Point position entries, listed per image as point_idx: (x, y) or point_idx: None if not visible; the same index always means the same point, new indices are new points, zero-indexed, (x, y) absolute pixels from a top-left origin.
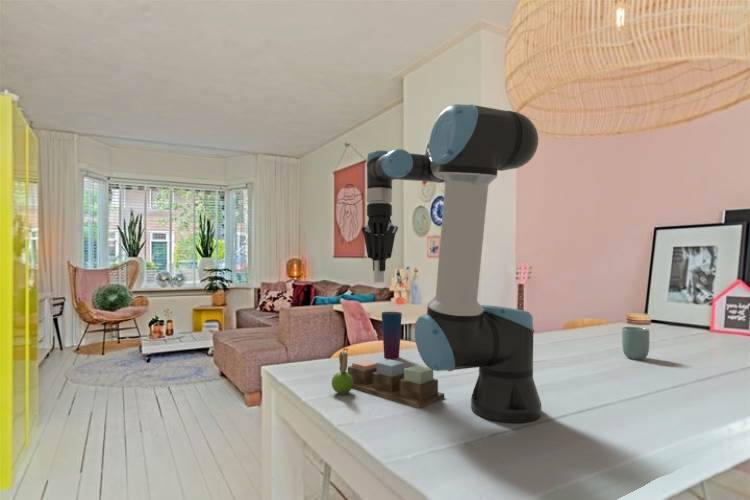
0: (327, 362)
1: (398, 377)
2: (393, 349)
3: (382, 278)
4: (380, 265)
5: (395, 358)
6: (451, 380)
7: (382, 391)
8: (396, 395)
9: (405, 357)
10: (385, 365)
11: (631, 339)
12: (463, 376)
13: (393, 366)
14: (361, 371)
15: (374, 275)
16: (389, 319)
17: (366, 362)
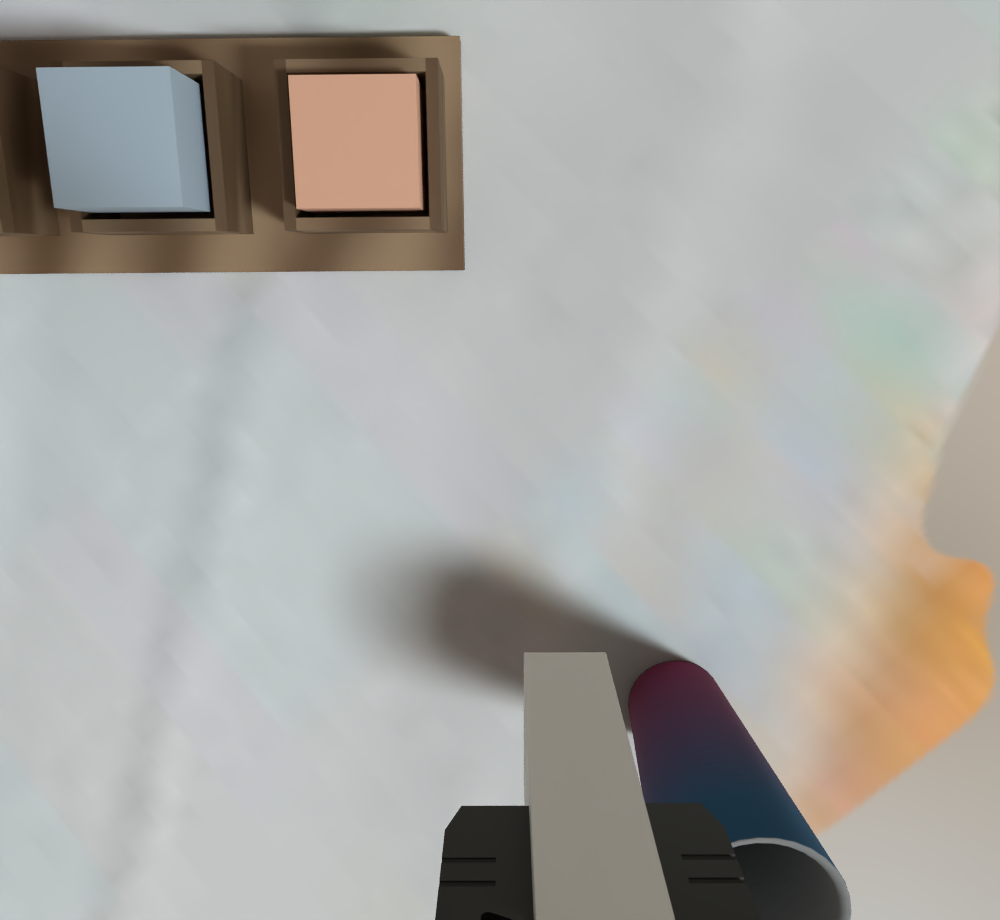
0: (902, 341)
1: None
2: (644, 707)
3: (525, 789)
4: (497, 891)
5: (631, 691)
6: (108, 546)
7: (143, 60)
8: (41, 61)
9: None
10: (92, 68)
11: None
12: (117, 648)
13: (40, 88)
14: (311, 60)
15: (617, 713)
16: None
17: (360, 159)
